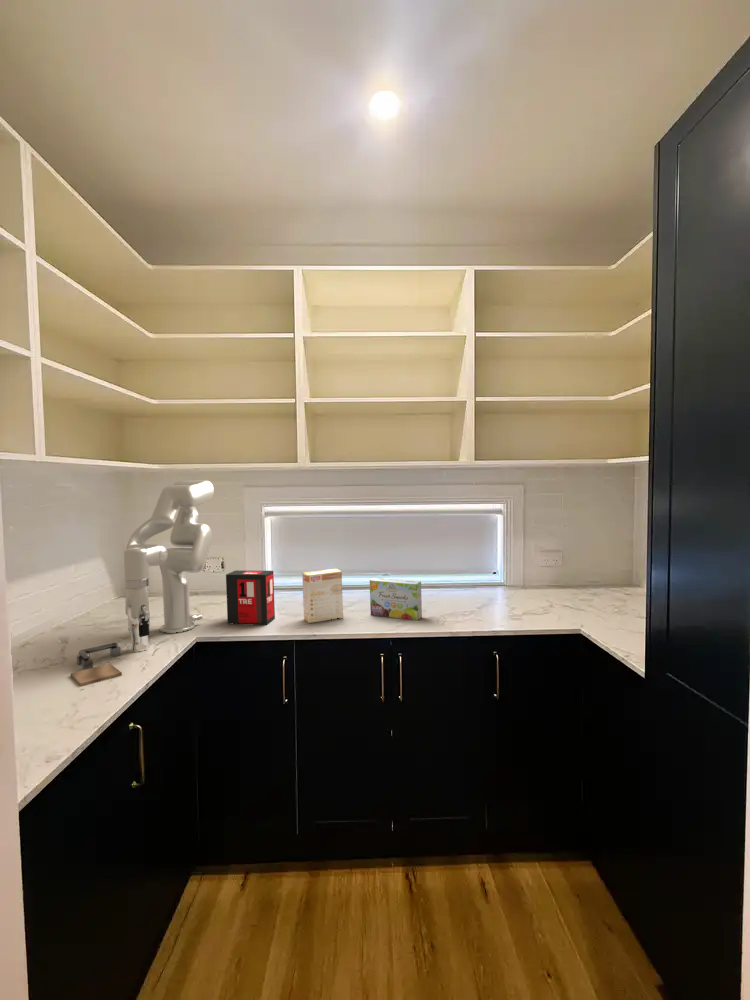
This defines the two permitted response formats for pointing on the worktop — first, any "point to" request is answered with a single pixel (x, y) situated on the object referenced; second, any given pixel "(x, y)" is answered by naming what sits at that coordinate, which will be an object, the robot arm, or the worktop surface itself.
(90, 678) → the walnut board
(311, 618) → the coffeecake box
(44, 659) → the worktop surface
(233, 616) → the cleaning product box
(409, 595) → the snack box
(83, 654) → the grey metal bent rod
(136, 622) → the beer glass
